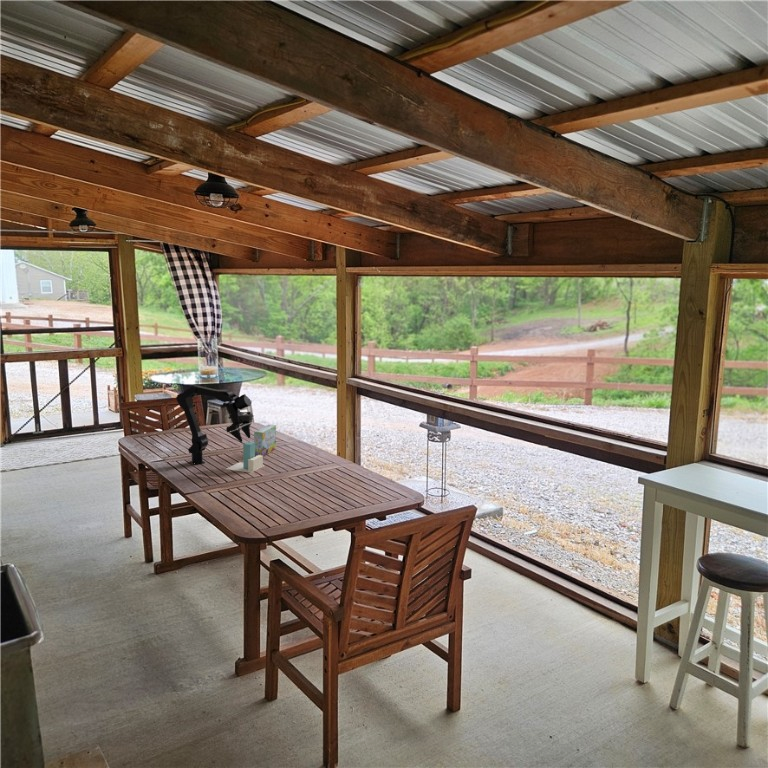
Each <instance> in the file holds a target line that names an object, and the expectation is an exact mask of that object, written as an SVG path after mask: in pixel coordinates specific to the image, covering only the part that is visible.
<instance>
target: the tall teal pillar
mask: <svg viewBox="0 0 768 768" xmlns="http://www.w3.org/2000/svg"><path fill="white" fill-rule="evenodd" d="M242 445H243V447H242V448H243V452H242V453H243V455H242V456H243V458H242V459H243V460H242V461H243V462H242V463H243V468H247V469H248V459H251V458H252V457H254V456H255V443H254V441H246V442H244V443H243V444H242Z"/></svg>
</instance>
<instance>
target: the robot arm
mask: <svg viewBox="0 0 768 768" xmlns="http://www.w3.org/2000/svg"><path fill="white" fill-rule="evenodd" d="M196 395H202V396H206V397H212V398H215V399H216V400H217V401H220V402H222V406H221V409H224V408H225V409H226V411H227V414H228V417H227V418H228V419H229V420H230V421H231V424H230V425H229V426H227V427H226V429H225V431H226V432H227V433H229V434H230V435H232V436H233V437H234V438H235V439H236V440H238V441H239V442H240V443H242V442H243V438H242V435H241V431H242V432H243V433H244V435H245V436H246V437H247V438H248V439H250V438H251V426H252V422H253V418H254V415H253V412H252V411H247V412H246V413H244V414H243V412H242V411H239V410H244V409H246V408H248V407H251V405H252V402H251V399H250V397H249V396H247V395H246V394H245V393H244V394H242V395H240V396H238V394H236V393H234V392H233V390H231V389H217V388H216V389H215V388H210V387H206V386H204V385H203V386H201V385H199V384H195V385H194V384H193V385H192V386H190V388H187V389H186V390H185V391H183V392H181V393H178V394H177V396H176V397H175V399H176V402H177V404H178V405H179V407H180V408H181V409H182V410H183V413H184V416H185V419H186V421H187V424H188V427H189V430H190V432H191V446H190V447H188V449H187V450H188V453H189V454H191V460H189V461H190V462H191V463H190V462H189V463H190V464H192V463H193V464H192V465H199V464H198V463H201V464H205V463H206V462H205V461H204V460H203V451H206V448H207V447H208V444H209V439H208V435H207V434H206V433H203V432H202V431H201V428H200V425H199V422H198V419H197V416H196V413H195V411H194V407H193V406H194V405H193V404H194V399H193V397H195V396H196ZM194 463H195V464H194Z"/></svg>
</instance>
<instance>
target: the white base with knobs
mask: <svg viewBox="0 0 768 768" xmlns="http://www.w3.org/2000/svg"><path fill="white" fill-rule="evenodd" d="M263 467H265V465H264V457H263V456H262V455H257V456H254V457H252V458H251V459H248V469H247V468H243V462H240V461H239V462H237V463H235V464H233V465H231V466H229V467H227V468H225V470H231V471H237V472H243V473H251V474H252V473H253V472H256V471H257V470H259V469H261V468H263Z"/></svg>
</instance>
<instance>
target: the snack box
mask: <svg viewBox="0 0 768 768" xmlns="http://www.w3.org/2000/svg"><path fill="white" fill-rule="evenodd" d="M276 435H277V425H276V424H266V425H264V426H262V427H260V428H258V429H257V430H255V431H254V433H253V442H254V443H255V456H257V455H262V456H263V458H264V457H266V456H267V455H269V454H270V453H272V452H274V451H275V450H276V437H277V436H276ZM274 449H275V450H274ZM273 450H274V451H273ZM271 451H272V452H271ZM268 453H269V454H268Z"/></svg>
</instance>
